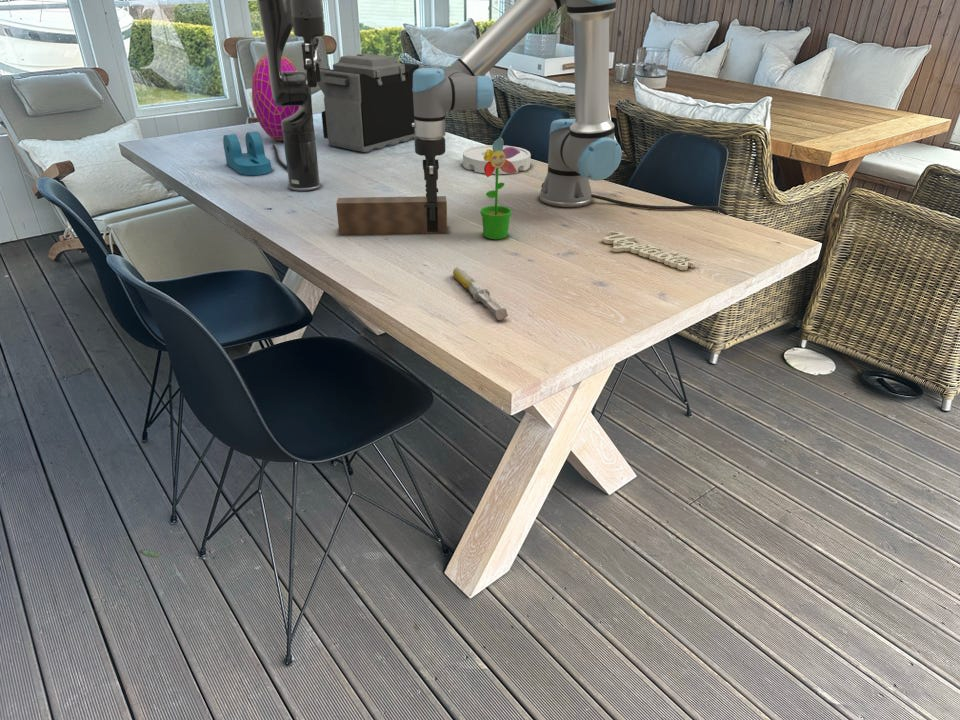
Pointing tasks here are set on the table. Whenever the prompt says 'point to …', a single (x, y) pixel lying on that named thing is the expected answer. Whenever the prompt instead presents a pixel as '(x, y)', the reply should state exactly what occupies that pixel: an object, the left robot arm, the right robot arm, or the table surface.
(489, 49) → the right robot arm
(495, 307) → the syringe
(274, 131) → the decorative egg
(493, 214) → the potted flower
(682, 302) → the table surface
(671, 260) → the decorative sign
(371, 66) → the cooler box
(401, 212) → the bar
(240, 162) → the camera mount
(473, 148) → the ashtray
